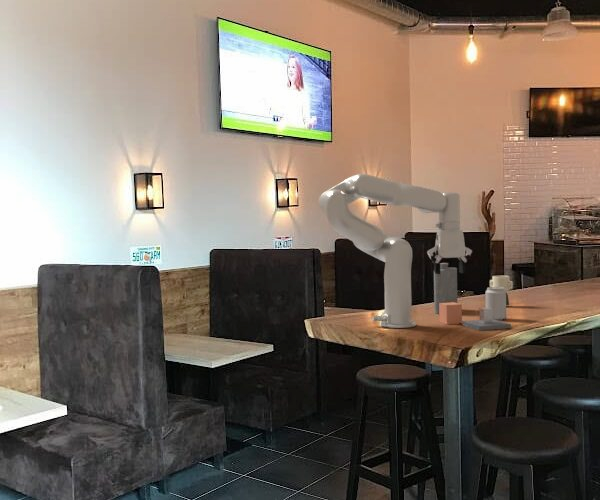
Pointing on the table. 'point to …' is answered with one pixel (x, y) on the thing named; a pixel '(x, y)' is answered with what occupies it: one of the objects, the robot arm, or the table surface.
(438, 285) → the hip flask
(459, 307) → the salmon pink cube
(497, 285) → the character mug
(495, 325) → the post base
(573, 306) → the table surface
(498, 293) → the can
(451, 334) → the table surface
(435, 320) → the table surface
